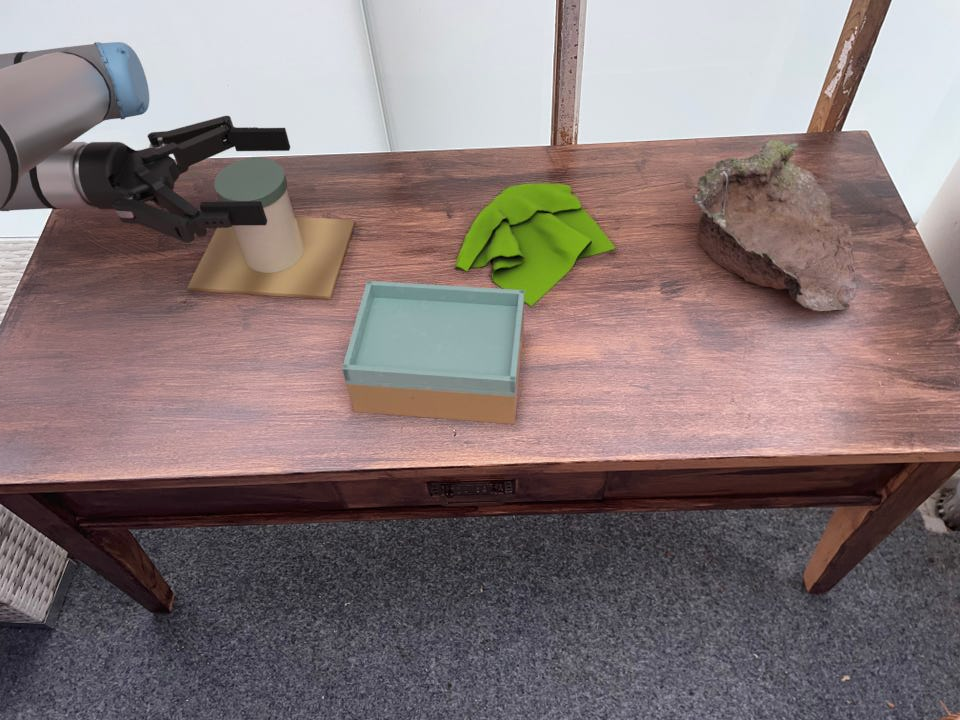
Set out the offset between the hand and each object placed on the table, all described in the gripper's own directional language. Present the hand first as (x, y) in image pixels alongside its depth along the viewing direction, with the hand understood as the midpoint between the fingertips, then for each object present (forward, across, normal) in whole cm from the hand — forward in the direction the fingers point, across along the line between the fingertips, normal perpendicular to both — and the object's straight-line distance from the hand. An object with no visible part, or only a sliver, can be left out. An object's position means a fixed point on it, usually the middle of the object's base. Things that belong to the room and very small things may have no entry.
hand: (276, 174), depth 83 cm
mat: (-3, 0, -13) cm, 13 cm away
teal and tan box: (+19, +19, -13) cm, 30 cm away
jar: (-3, 0, -12) cm, 13 cm away
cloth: (+29, -2, -13) cm, 32 cm away
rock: (+59, 0, -13) cm, 60 cm away
